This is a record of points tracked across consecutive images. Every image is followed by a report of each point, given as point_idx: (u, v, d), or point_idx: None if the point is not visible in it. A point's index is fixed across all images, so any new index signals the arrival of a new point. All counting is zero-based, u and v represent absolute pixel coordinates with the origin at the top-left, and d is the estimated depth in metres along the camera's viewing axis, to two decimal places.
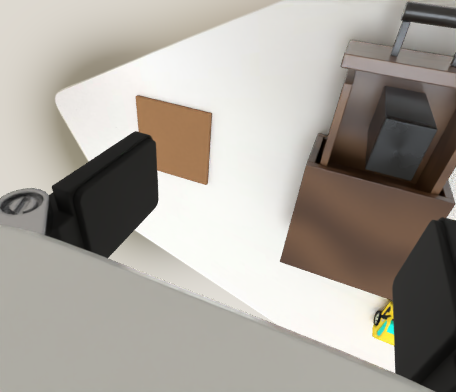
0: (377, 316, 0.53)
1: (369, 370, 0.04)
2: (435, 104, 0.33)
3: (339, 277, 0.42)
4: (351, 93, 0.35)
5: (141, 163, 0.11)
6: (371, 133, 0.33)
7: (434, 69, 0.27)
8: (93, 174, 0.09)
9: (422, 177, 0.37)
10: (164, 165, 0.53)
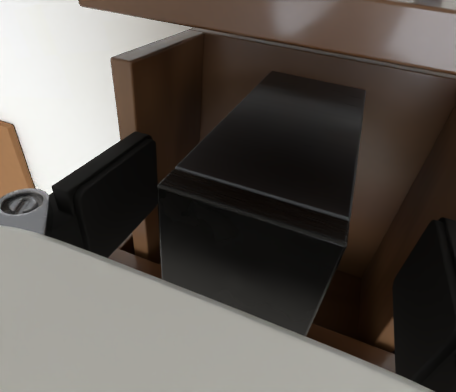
0: None
1: (369, 370, 0.04)
2: (391, 117, 0.13)
3: None
4: (207, 89, 0.16)
5: (141, 163, 0.11)
6: None
7: None
8: (93, 174, 0.09)
9: (370, 272, 0.17)
10: None
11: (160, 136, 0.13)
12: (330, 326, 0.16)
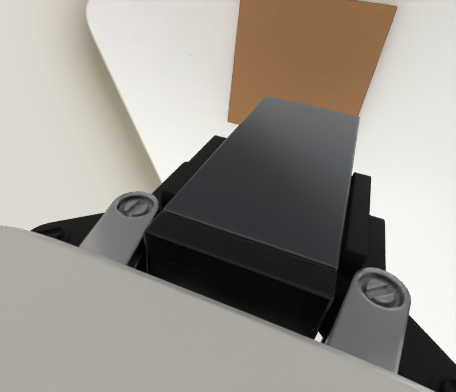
0: None
1: (369, 370, 0.04)
2: None
3: None
4: None
5: None
6: None
7: None
8: None
9: None
10: None
11: None
12: None
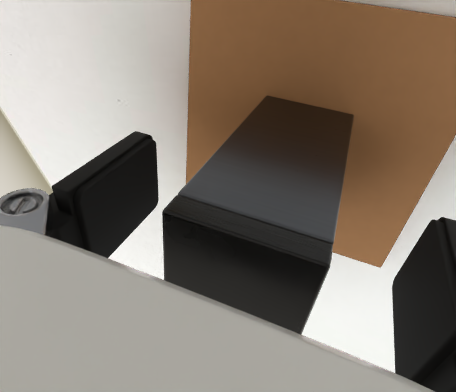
0: None
1: (369, 370, 0.04)
2: None
3: None
4: None
5: (141, 163, 0.11)
6: None
7: None
8: (93, 174, 0.09)
9: None
10: None
11: None
12: None
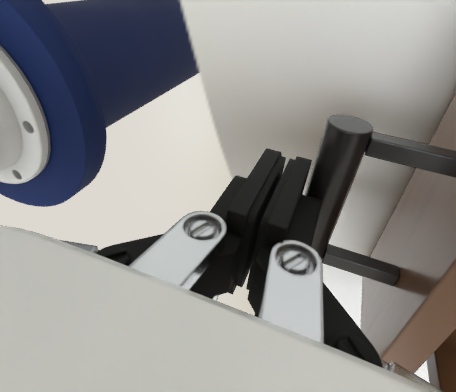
0: None
1: (369, 370, 0.04)
2: None
3: None
4: None
5: (277, 181, 0.11)
6: None
7: (450, 268, 0.09)
8: (256, 196, 0.09)
9: None
10: None
11: None
12: None
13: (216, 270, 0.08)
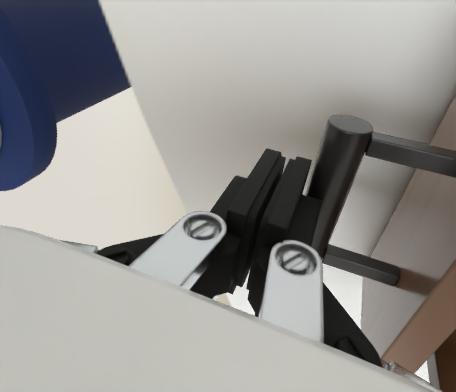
0: None
1: (369, 370, 0.04)
2: None
3: None
4: None
5: (277, 181, 0.11)
6: None
7: (450, 268, 0.09)
8: (256, 196, 0.09)
9: None
10: None
11: None
12: None
13: (216, 270, 0.08)
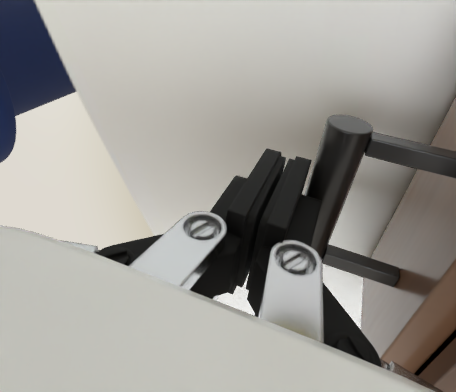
0: None
1: (369, 370, 0.04)
2: None
3: None
4: None
5: (277, 181, 0.11)
6: None
7: (449, 269, 0.09)
8: (256, 196, 0.09)
9: None
10: None
11: None
12: None
13: (216, 270, 0.08)
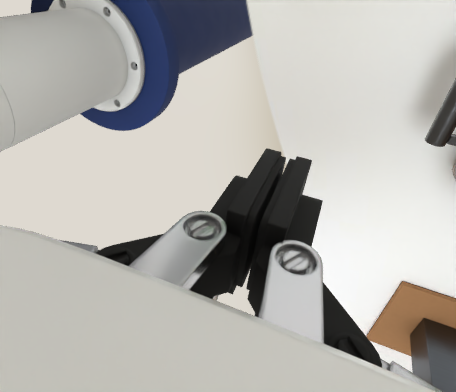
0: None
1: (369, 370, 0.04)
2: None
3: None
4: None
5: (277, 181, 0.11)
6: None
7: None
8: (256, 196, 0.09)
9: None
10: None
11: None
12: None
13: (216, 270, 0.08)
